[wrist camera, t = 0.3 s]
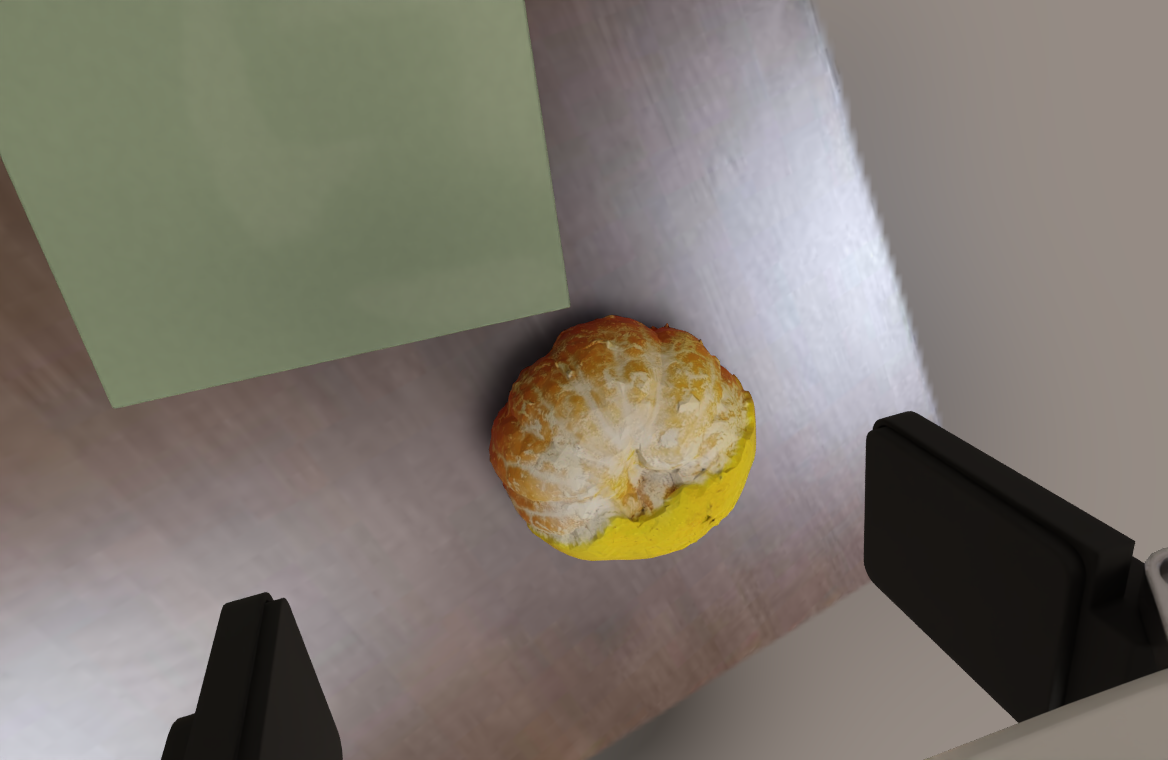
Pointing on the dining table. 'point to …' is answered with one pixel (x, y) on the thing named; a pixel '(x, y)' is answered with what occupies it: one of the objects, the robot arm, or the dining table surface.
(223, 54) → the cabinet
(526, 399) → the fruit
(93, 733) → the dining table surface
